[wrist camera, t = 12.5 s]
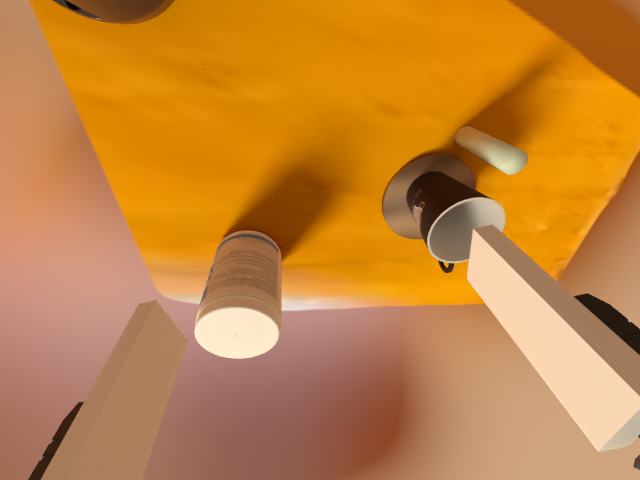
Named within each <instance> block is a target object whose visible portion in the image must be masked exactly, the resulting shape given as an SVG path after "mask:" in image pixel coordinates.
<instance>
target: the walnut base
mask: <svg viewBox="0 0 640 480" xmlns="http://www.w3.org/2000/svg"><path fill="white" fill-rule="evenodd" d="M431 171H438V172H442V173H444V174H446V175H448V176H450V177H452V178H454V179H455V180H457V181H459V182H461V183H463V184H465V185H467V186H469V187H470V188H472V189H474V190H475V181H474V176H473V174H472V172H471V170H470V168H469V167H468V166H467V165H466V164H465V163H464V162H462V161H461V160H459V159H458V158H456V157H454V156H451V155H447V154H430V155H425V156H422V157H419V158H417V159H415V160H413V161H411V162H409V163H408V164H406V165H405V166H404V167H402V168H401V169H400V170H399V171H398V172H397V173H396V174H395V175H394V176H393V178H392V179H391V180H390V182H389V184H388V185H387V187H386V189H385V192H384V195H383V200H382V212H383V216H384V218H385V220H386V222H387V224H388V226H389V227H390V228H391V229H392V230H393V231H394V232H395V233H397V234H398V235H400V236H402V237H405V238H409V239H423V237H422V235H421V233H420V230H419V228H418V226H417V224H416V222H415V220H414V217H413V215H412V213H411V211H410V209H409V207H408V204H407V201H406V195H407V191H408V188H409V187H410V185H411V184H412V182H413V181H414V180H415V179H416V178H418V177H419V176H421V175H422V174H425V173H427V172H431Z"/></svg>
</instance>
